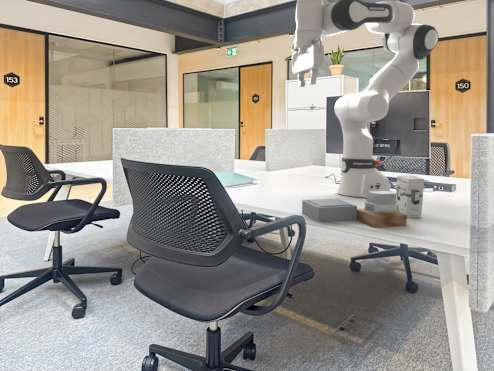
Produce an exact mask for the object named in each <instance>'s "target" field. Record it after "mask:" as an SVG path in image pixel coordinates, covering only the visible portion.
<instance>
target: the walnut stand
mask: <svg viewBox="0 0 494 371" xmlns="http://www.w3.org/2000/svg"><path fill="white" fill-rule="evenodd" d="M407 219H408V218H407V215H406V214H403V213H400V212H397V213H387V214H372V213H370V212H367V211H365V207H364V208H357V220H356V221H359V222H361V223H363V224H365V225H368V226H370V227H372V228H388V227H403V226H404V227H405V226H407V223H408V221H407Z"/></svg>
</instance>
